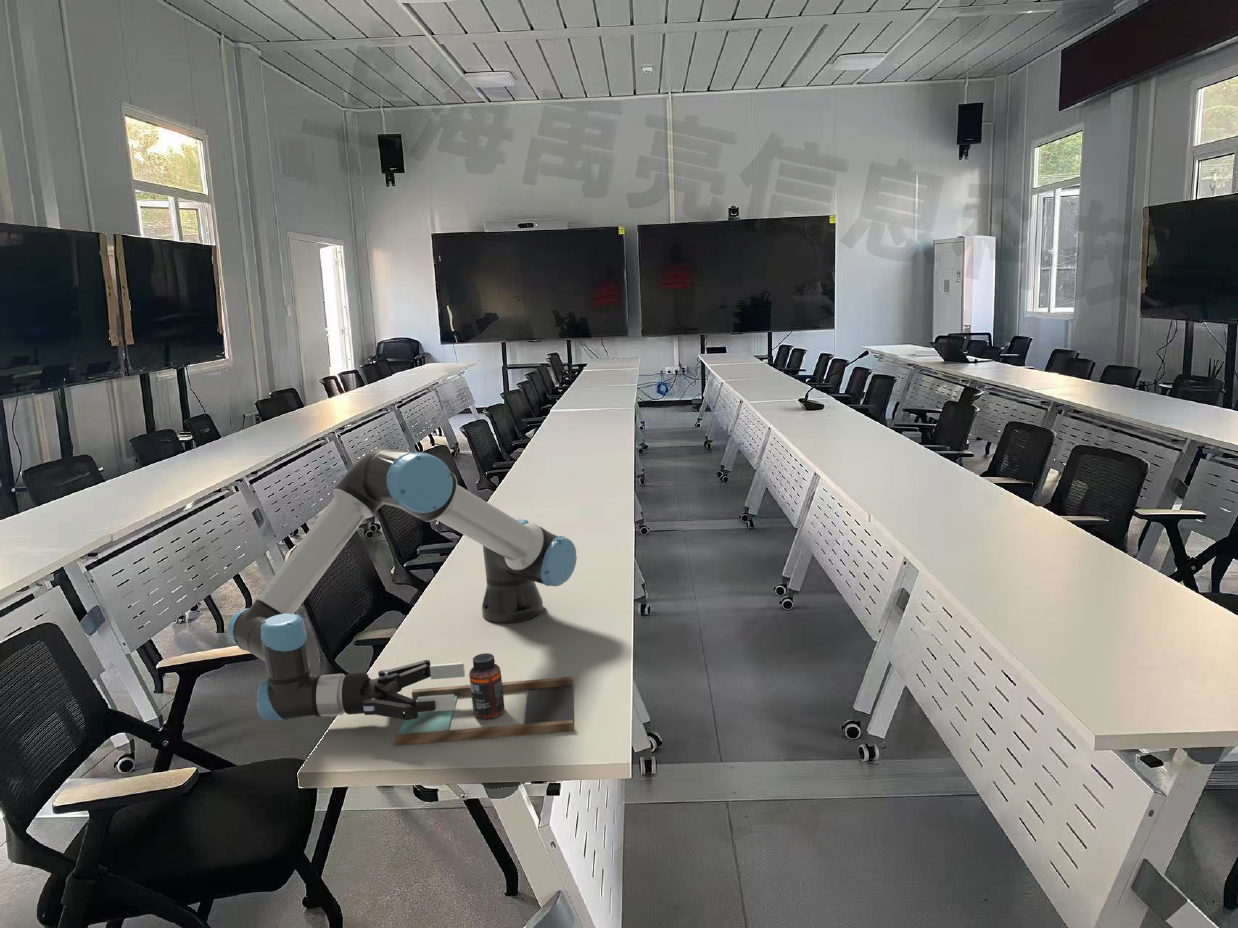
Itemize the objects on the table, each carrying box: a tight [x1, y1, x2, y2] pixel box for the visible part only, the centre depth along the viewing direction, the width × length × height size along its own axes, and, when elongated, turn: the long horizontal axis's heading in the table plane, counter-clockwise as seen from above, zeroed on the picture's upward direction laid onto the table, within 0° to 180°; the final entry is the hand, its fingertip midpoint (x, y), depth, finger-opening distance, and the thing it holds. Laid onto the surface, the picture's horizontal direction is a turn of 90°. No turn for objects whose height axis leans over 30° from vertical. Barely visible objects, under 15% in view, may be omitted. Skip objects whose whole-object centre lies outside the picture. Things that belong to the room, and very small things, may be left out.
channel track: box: [393, 676, 574, 747], centre depth 164 cm, size 32×19×2 cm, turn 93°
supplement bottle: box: [468, 652, 506, 720], centre depth 163 cm, size 6×6×11 cm
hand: (459, 684), depth 162 cm, fingers open, 13 cm apart
